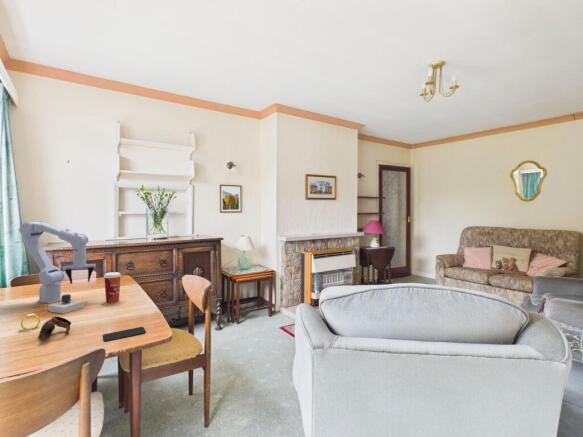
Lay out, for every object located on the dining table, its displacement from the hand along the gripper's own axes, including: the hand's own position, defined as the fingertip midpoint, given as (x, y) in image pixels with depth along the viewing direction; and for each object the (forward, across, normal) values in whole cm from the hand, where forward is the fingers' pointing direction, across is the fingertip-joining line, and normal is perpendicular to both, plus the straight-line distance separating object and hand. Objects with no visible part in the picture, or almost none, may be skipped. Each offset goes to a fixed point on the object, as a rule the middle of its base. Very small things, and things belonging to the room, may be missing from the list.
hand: (80, 282), depth 163 cm
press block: (+10, -6, -11) cm, 16 cm away
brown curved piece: (+11, -8, -45) cm, 47 cm away
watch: (+11, -17, -32) cm, 37 cm away
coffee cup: (+11, +15, -7) cm, 19 cm away
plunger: (+10, -6, -11) cm, 16 cm away
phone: (+12, +16, -58) cm, 61 cm away
